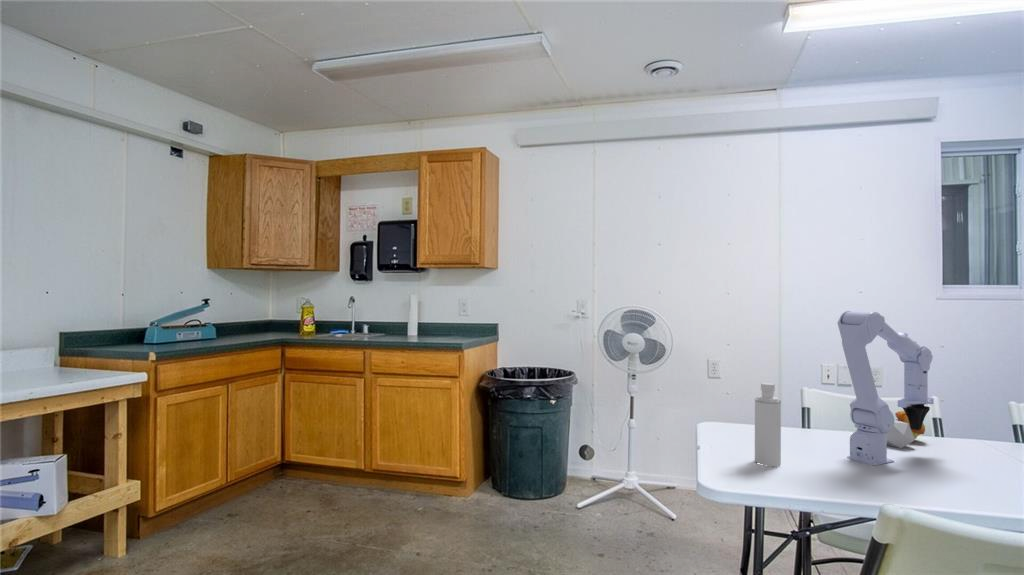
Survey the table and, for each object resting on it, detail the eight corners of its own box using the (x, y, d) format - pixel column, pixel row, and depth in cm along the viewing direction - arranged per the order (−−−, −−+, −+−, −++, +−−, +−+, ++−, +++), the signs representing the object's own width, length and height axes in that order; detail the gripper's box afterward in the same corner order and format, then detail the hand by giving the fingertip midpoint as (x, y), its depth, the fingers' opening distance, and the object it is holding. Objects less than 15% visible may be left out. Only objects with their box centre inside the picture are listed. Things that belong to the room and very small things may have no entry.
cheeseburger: (886, 427, 190) (902, 404, 187) (917, 448, 182) (935, 424, 179) (874, 429, 184) (890, 405, 181) (906, 450, 176) (924, 425, 173)
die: (920, 451, 167) (904, 447, 177) (918, 421, 169) (903, 419, 178) (889, 448, 169) (875, 445, 179) (887, 419, 171) (874, 417, 180)
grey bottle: (783, 470, 148) (783, 380, 149) (757, 469, 150) (758, 379, 150) (776, 463, 155) (777, 376, 155) (752, 461, 156) (752, 375, 157)
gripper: (915, 388, 158) (915, 434, 158) (944, 385, 164) (944, 430, 164) (890, 384, 164) (890, 429, 164) (919, 381, 170) (919, 424, 170)
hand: (915, 429), depth 164 cm, fingers closed
